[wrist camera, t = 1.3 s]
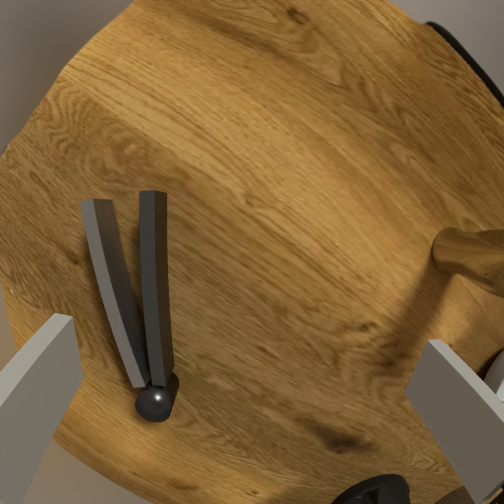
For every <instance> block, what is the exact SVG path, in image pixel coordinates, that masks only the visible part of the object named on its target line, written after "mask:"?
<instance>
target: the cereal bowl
mask: <svg viewBox="0 0 504 504" xmlns="http://www.w3.org/2000/svg"><path fill="white" fill-rule="evenodd" d="M483 382H484V383H485V384H486V385H487V386H488V387H489V388H490V389H491V390H492V391H493V392H494V393H495V394H496V395H497V396H498V397H499V398H500V400H502V401H503V402H504V350H503V351H502V352H501V353H500V354H499V356H498V357H497V358H496V359H495V361H494V362H493V364H492V366H491V367H490V369H489V371H488V372H487V375H486V376H485V379H484V381H483Z"/></svg>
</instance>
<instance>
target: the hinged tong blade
mask: <svg viewBox="0 0 504 504" xmlns="http://www.w3.org/2000/svg"><path fill="white" fill-rule="evenodd" d="M80 204H81V210H82V215H83V221H84V226H85V231H86V236H87V241H88V245H89V250H90V254H91V258H92V262H93V266H94V270H95V274H96V278H97V282H98V286H99V289H100V293H101V296H102V300H103V303H104V307H105V310H106V313H107V316H108V320H109V323H110V326H111V329H112V332H113V335H114V338H115V341H116V344H117V346H118V349H119V352H120V355H121V357H122V360H123V363H124V365H125V368H126V371H127V373H128V376H129V378H130V381H131V383H132V386H133V388H137V387H146V385H147V383H148V381H149V379H150V377H151V372H150V364H149V357H148V348H147V340H146V334H145V331H144V328H143V324H142V321H141V318H140V314H139V311H138V308H137V304H136V301H135V297H134V293H133V290H132V286H131V282H130V278H129V275H128V271H127V267H126V263H125V258H124V254H123V250H122V245H121V241H120V236H119V232H118V227H117V222H116V217H115V212H114V207H113V201H112V200H108V199H90V200H87V201H83V202H80Z"/></svg>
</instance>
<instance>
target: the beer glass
mask: <svg viewBox="0 0 504 504" xmlns="http://www.w3.org/2000/svg"><path fill="white" fill-rule="evenodd" d="M432 256H433V261H434V264H435V266H436V267H437V269H438V270H439V271H441V272H442V273H445V274H458V275H461V276H463V277H465V278H466V279H468V280H469V281H471V282H472V283H474V284H475V285H477V286H478V287H480V288H481V289H483V290H485V291H486V292H488V293H490V294H493V295H495V296H498V297H501V298H504V229H495V230H485V231H479V232H464V231H462V230H459V229H457V228H454V227H447V228H445V229H443V230H442V231H440V232H439V234H438V235H437V237H436V238H435V241H434V244H433V249H432Z"/></svg>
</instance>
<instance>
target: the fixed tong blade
mask: <svg viewBox="0 0 504 504" xmlns="http://www.w3.org/2000/svg"><path fill="white" fill-rule="evenodd" d="M139 226H140V261H141V281H142V296H143V309H144V320H145V330H146V340H147V348H148V357H149V364H150V372H151V377H150V379H149V381H148V383H147V385H146V387H142V389H141V391H140V393H139V395H138V397H137V399H136V402H135V407H136V410H137V412H138V413H139V414H140V415H141V416H142V417H143V418H145V419H146V420H149V421H152V422H163V421H165V420H167V419H168V418H169V416H170V413H171V410H172V407H173V404H174V401H175V398H176V394H177V391H178V388H179V379H178V377H177V376H176V375H175V374H174V373H173V372H172V370H173V367H174V357H173V345H172V333H171V320H170V304H169V285H168V257H167V193H164V192H160V191H155V190H150V191H140V194H139Z"/></svg>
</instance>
